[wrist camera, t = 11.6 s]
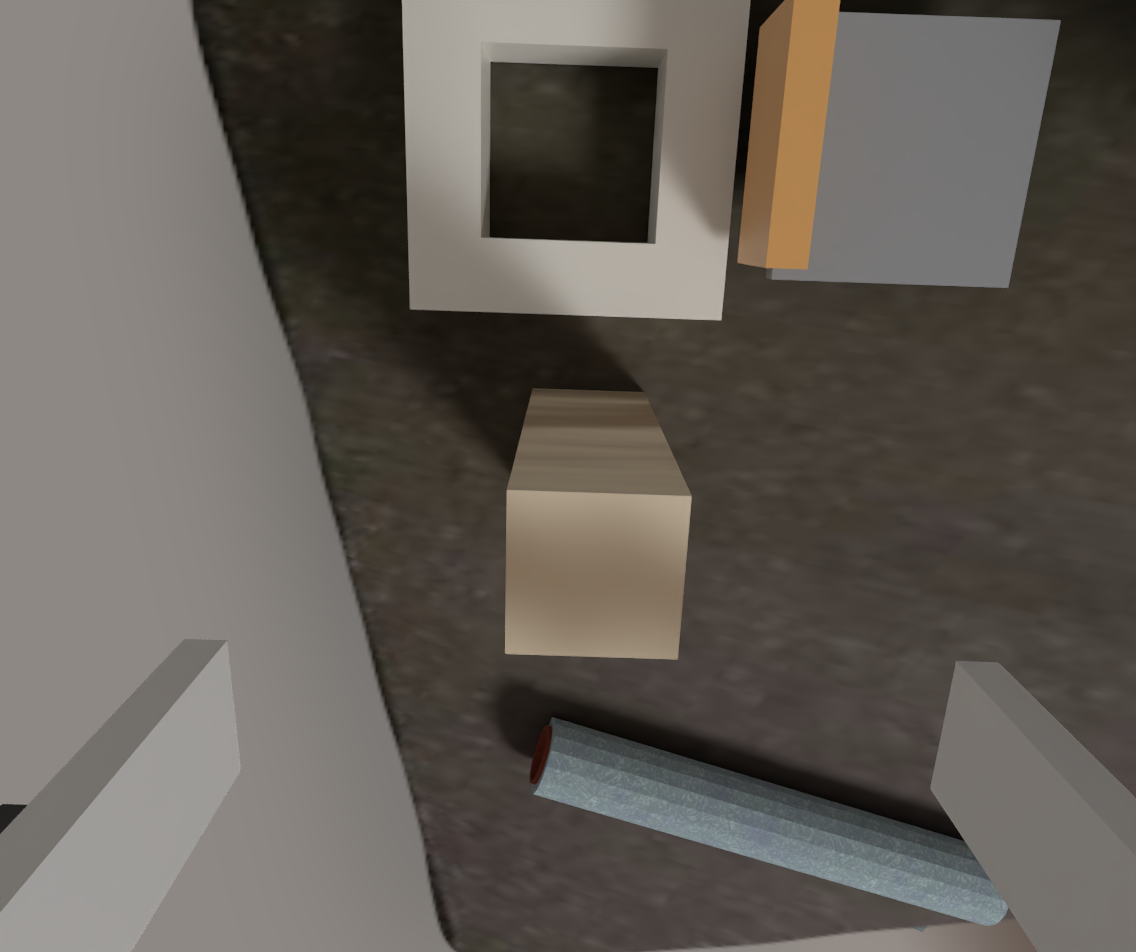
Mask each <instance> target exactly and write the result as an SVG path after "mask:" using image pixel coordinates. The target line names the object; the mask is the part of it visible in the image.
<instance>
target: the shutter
mask: <svg viewBox="0 0 1136 952" xmlns="http://www.w3.org/2000/svg"><path fill="white" fill-rule="evenodd" d="M839 7H840V0H784V2H783V3H782V4H781V5H780V6H779V7H778V8H777V9H776V10H775V11H774V12H773V14H772V15H771V16H770V17H769V18H768V19H767V20H766V21H765V22H764V23H763V25H762V26H761V27H760V31H759V41H758V52H757V62H756V72H755V83H754V93H753V104H752V114H751V125H750V135H749V146H748V156H747V167H746V177H745V188H744V198H743V209H742V219H741V230H740V240H739V251H738V261H737V263H741V264H747V265H752V266H758V267H763V268H767V272H766V278H767V279H773V280H801V281H829V282H857V283H886V284H914V285H942V286H970V287H999V288H1008V286H1009V281H1010V276H1011V271H1012V266H1013V261H1014V256H1015V251H1016V246H1017V240H1018V235H1019V230H1020V225H1021V220H1022V215H1023V210H1024V205H1025V200H1026V195H1027V190H1028V185H1029V180H1030V175H1031V169H1032V164H1033V159H1034V154H1035V149H1036V144H1037V139H1038V134H1039V129H1040V124H1041V119H1042V114H1043V109H1044V104H1045V99H1046V93H1047V88H1048V83H1049V78H1050V73H1051V68H1052V63H1053V58H1054V53H1055V48H1056V43H1057V38H1058V33H1059V28H1060V22H1061V20H1041V19H1015V18H988V17H961V16H934V15H907V14H880V13H854V12H839Z"/></svg>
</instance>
